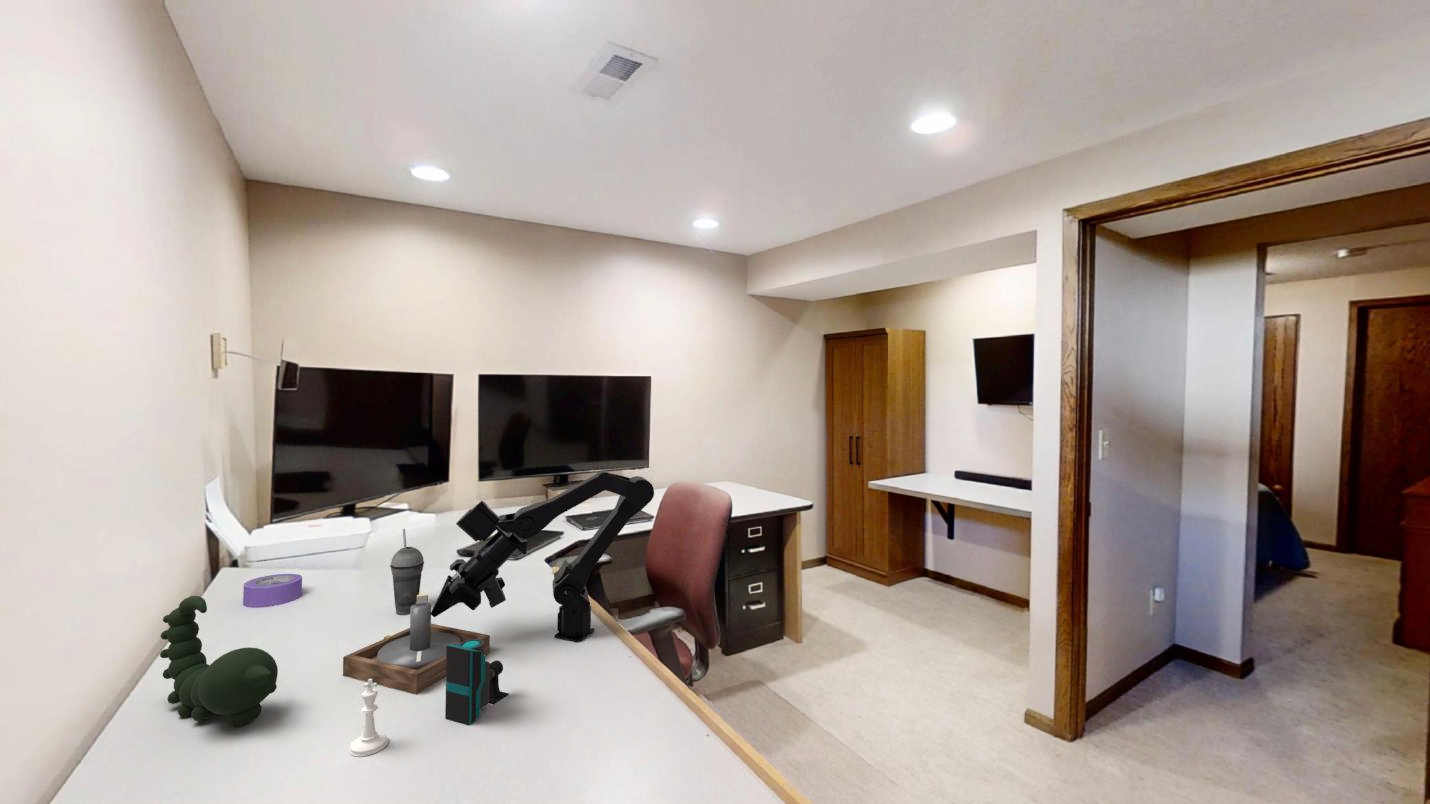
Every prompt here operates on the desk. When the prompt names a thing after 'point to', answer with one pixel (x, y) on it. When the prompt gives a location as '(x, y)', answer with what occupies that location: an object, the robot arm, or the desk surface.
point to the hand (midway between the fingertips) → (432, 615)
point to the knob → (418, 640)
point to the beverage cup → (406, 577)
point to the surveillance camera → (470, 681)
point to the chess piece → (369, 727)
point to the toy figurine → (214, 672)
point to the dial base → (399, 677)
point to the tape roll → (272, 590)
